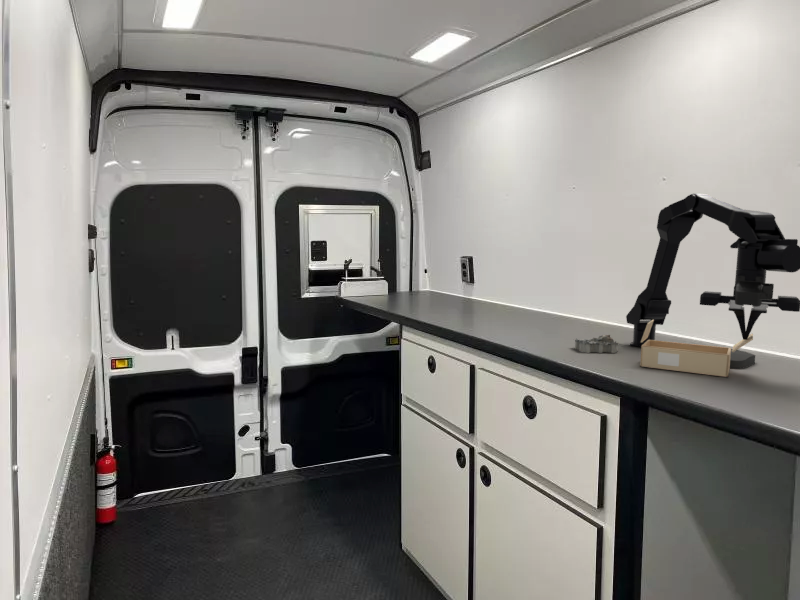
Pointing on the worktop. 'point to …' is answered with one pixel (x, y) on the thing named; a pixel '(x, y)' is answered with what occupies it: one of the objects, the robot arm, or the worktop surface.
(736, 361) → the media streaming box
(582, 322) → the worktop surface
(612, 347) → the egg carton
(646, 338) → the flap
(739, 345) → the flap
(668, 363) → the carton
